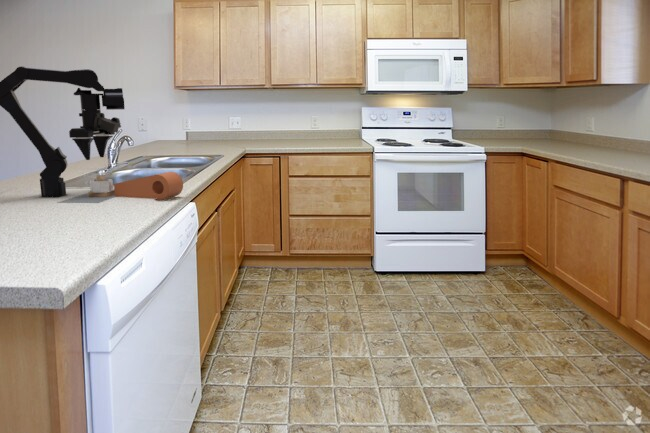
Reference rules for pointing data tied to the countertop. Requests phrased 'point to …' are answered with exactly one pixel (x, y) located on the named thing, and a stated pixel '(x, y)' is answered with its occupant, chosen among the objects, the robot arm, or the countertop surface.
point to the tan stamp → (103, 194)
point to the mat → (86, 199)
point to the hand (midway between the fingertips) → (95, 158)
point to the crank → (151, 186)
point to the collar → (101, 186)
